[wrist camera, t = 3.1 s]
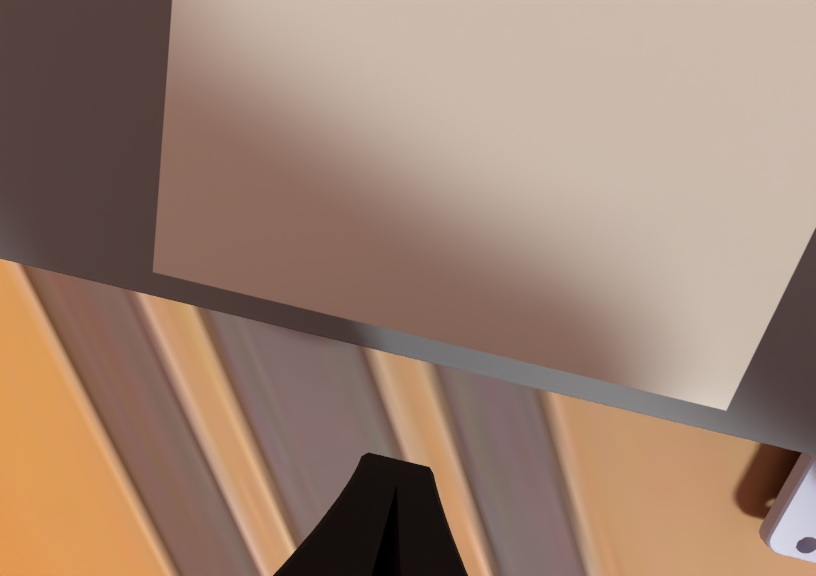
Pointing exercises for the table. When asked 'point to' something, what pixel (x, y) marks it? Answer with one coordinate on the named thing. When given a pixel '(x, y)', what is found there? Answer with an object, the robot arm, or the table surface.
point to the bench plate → (133, 269)
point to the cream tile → (502, 172)
